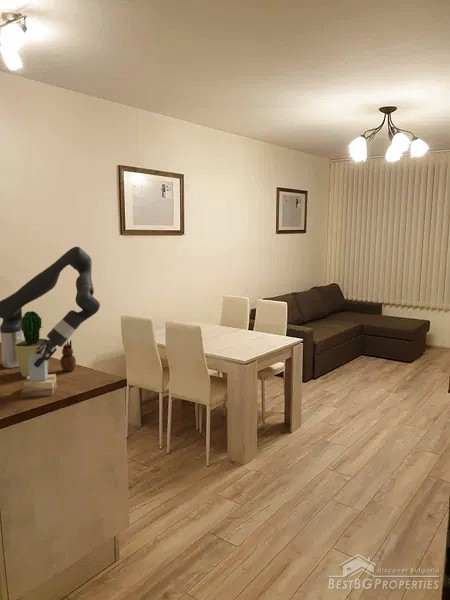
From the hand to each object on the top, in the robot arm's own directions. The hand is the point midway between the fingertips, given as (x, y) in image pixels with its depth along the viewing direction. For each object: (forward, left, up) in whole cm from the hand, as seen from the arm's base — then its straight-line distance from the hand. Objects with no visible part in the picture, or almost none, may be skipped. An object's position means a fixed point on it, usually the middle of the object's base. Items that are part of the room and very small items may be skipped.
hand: (33, 363), depth 185 cm
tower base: (-1, +1, -13) cm, 13 cm away
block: (0, +1, -7) cm, 7 cm away
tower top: (0, +2, -10) cm, 10 cm away
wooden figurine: (-26, +9, -12) cm, 31 cm away
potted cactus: (-25, -6, -12) cm, 29 cm away
